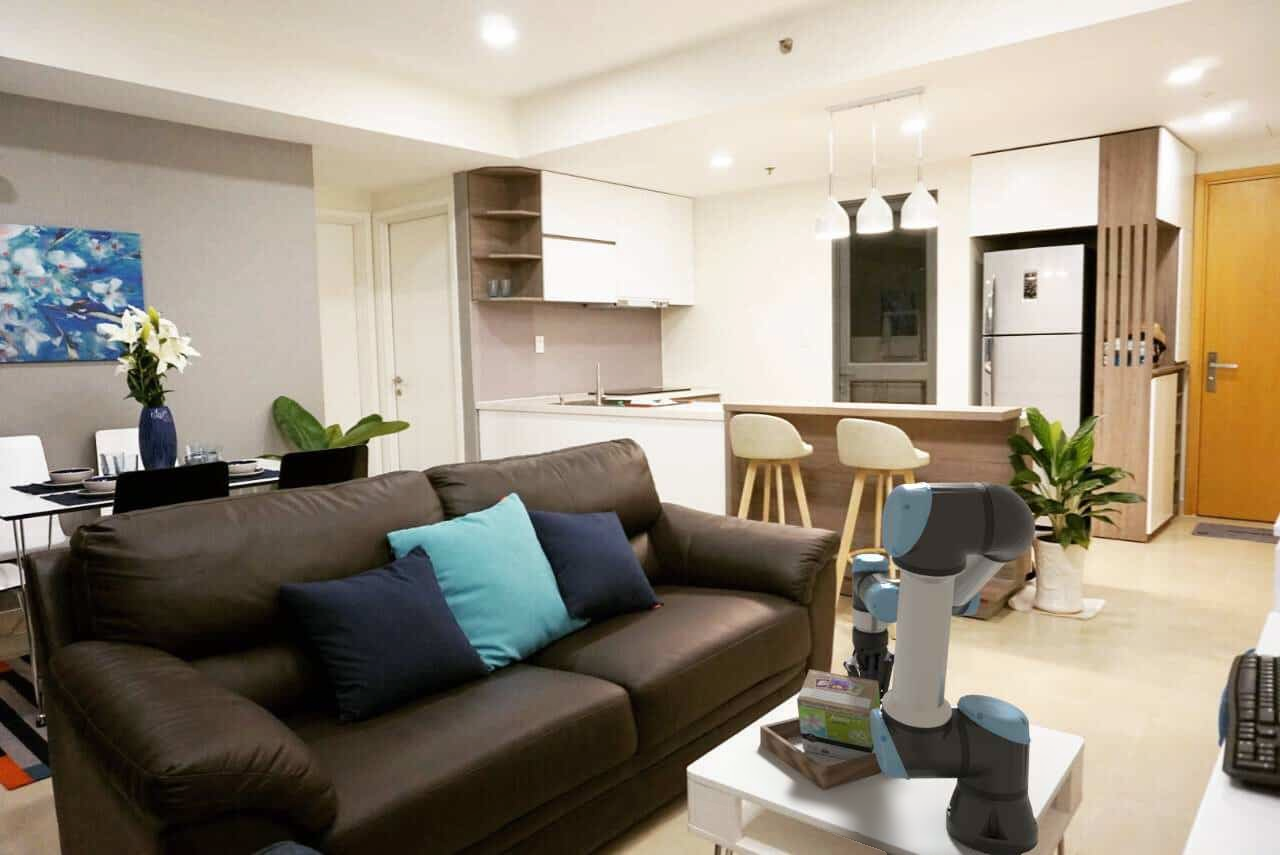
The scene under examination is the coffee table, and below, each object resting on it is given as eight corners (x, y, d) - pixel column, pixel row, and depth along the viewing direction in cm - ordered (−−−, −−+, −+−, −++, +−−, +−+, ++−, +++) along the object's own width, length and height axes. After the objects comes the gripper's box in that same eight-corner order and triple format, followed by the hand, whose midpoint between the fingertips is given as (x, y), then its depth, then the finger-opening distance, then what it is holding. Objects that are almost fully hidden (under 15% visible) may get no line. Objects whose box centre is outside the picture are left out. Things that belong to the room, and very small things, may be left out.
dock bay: (910, 764, 177) (910, 745, 177) (823, 790, 168) (823, 770, 167) (841, 723, 197) (841, 706, 196) (760, 743, 187) (760, 726, 187)
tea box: (802, 752, 183) (794, 698, 177) (814, 719, 191) (808, 666, 185) (873, 767, 176) (868, 711, 170) (883, 732, 184) (878, 678, 178)
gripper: (882, 616, 190) (881, 718, 193) (834, 626, 185) (835, 731, 188) (905, 626, 183) (905, 731, 186) (857, 637, 178) (857, 745, 181)
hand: (870, 731), depth 187 cm, fingers closed
